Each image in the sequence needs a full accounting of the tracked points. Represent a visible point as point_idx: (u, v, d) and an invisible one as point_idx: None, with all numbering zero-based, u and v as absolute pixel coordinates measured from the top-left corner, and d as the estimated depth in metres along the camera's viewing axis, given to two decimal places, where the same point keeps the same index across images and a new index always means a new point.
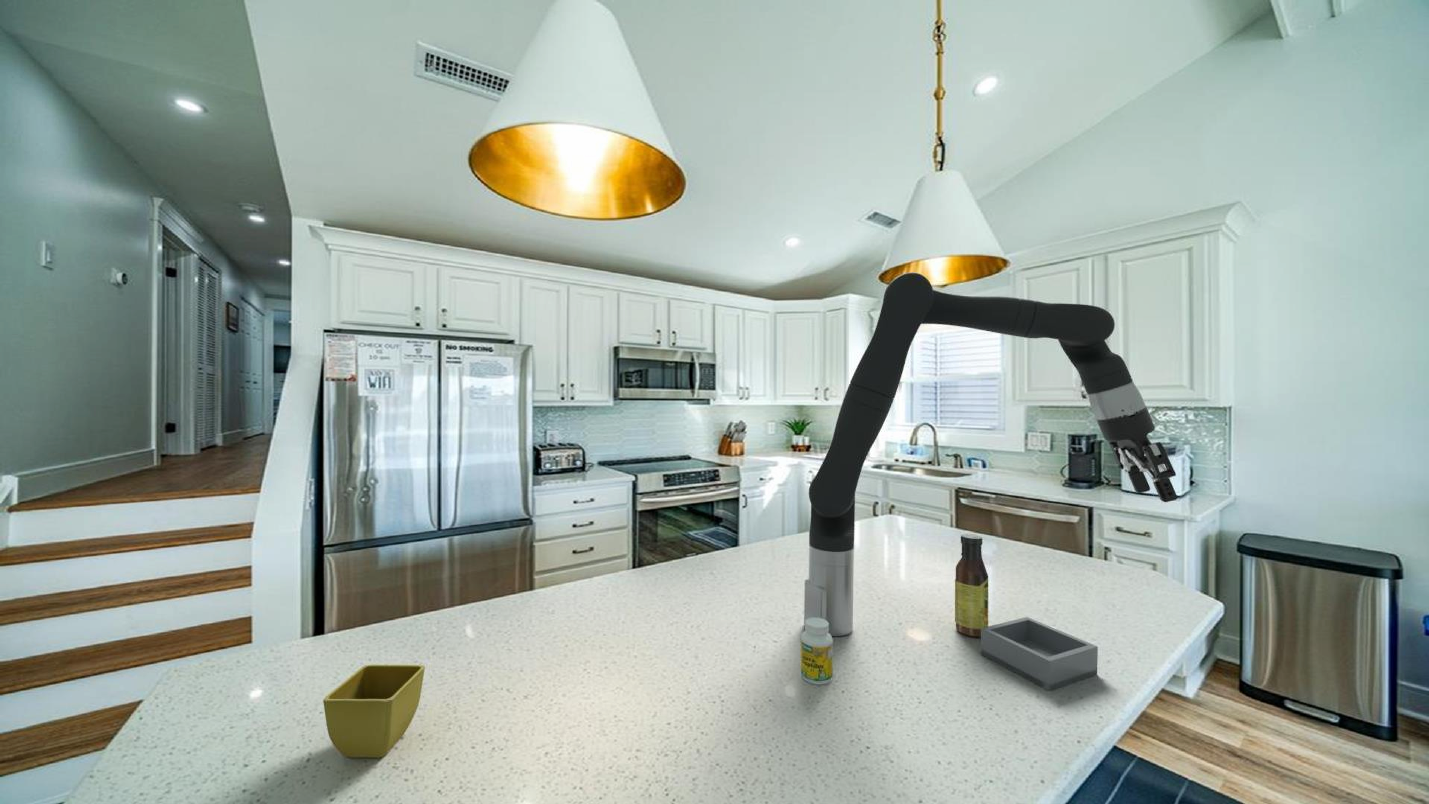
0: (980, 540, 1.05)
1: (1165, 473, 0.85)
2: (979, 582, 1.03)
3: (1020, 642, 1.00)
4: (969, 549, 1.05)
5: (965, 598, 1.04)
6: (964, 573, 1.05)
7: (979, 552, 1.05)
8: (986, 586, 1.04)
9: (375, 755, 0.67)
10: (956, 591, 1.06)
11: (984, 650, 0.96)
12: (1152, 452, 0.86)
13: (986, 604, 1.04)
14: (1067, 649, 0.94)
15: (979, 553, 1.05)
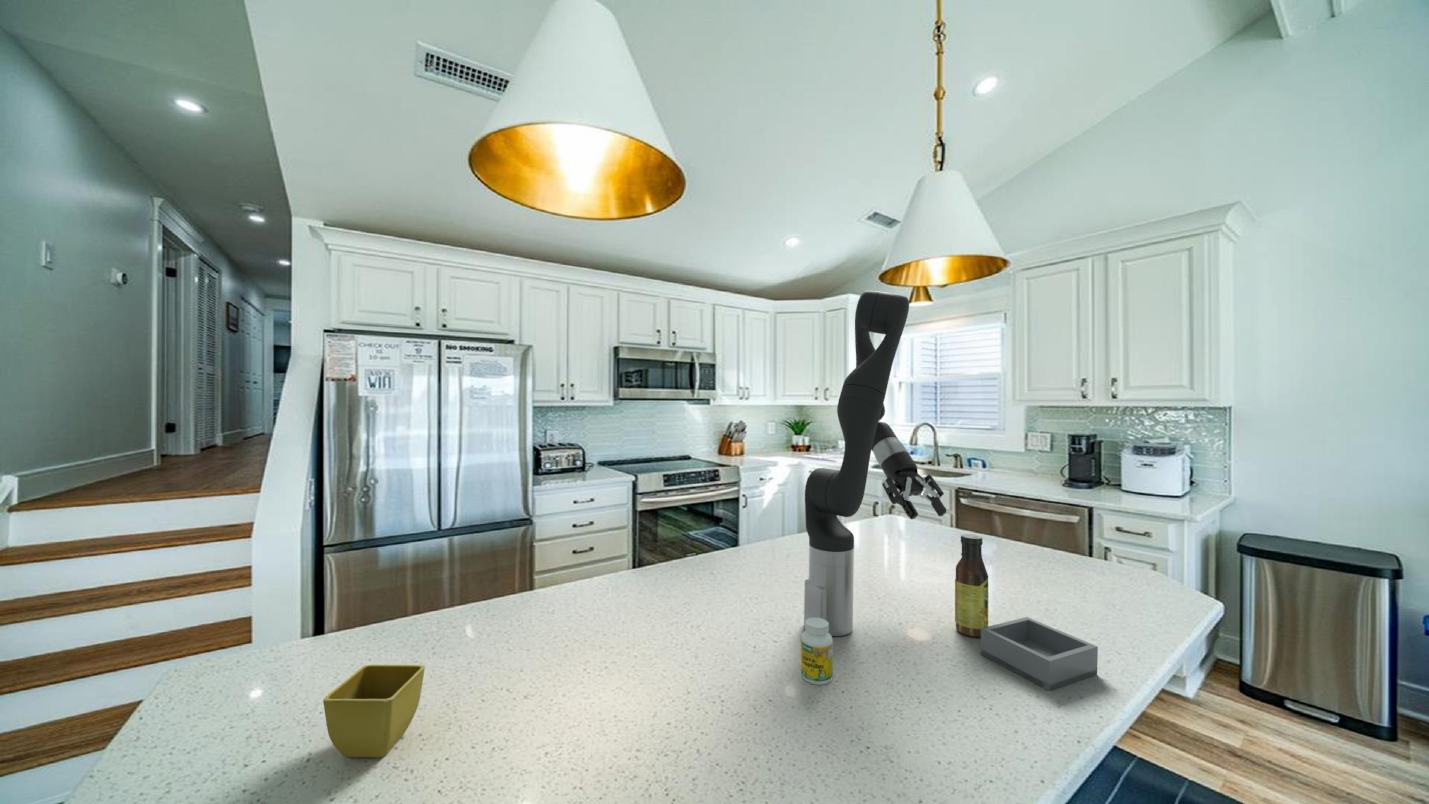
0: (980, 540, 1.05)
1: None
2: (979, 582, 1.03)
3: (1020, 642, 1.00)
4: (969, 549, 1.05)
5: (965, 598, 1.04)
6: (964, 573, 1.05)
7: (979, 552, 1.05)
8: (986, 586, 1.04)
9: (375, 755, 0.67)
10: (956, 591, 1.06)
11: (984, 650, 0.96)
12: None
13: (986, 604, 1.04)
14: (1067, 649, 0.94)
15: (979, 553, 1.05)
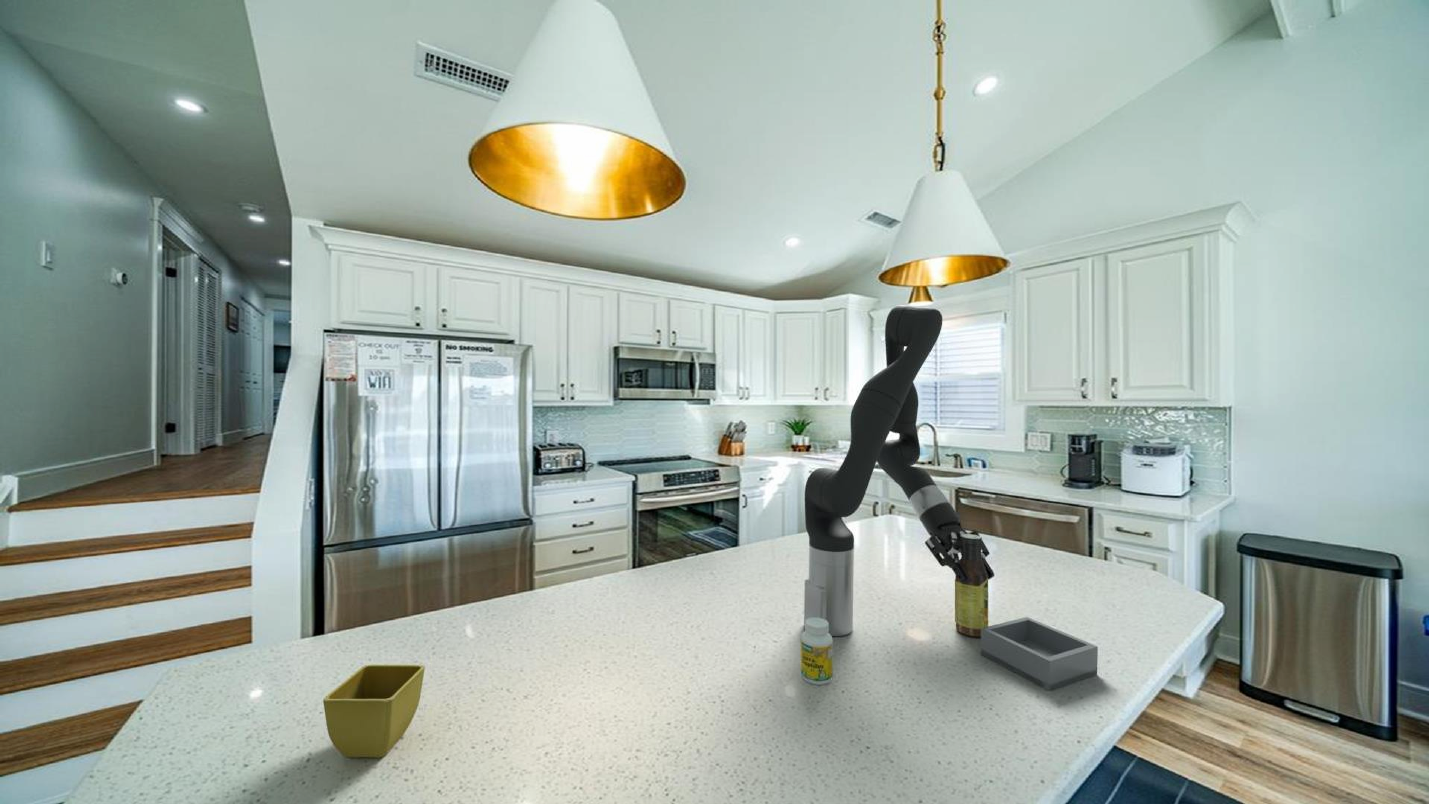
0: (980, 540, 1.05)
1: None
2: (979, 582, 1.03)
3: (1020, 642, 1.00)
4: (968, 549, 1.05)
5: (964, 598, 1.04)
6: None
7: (979, 552, 1.05)
8: (986, 586, 1.04)
9: (375, 755, 0.67)
10: (956, 591, 1.06)
11: (984, 650, 0.96)
12: None
13: (986, 604, 1.04)
14: (1067, 649, 0.94)
15: (979, 553, 1.05)
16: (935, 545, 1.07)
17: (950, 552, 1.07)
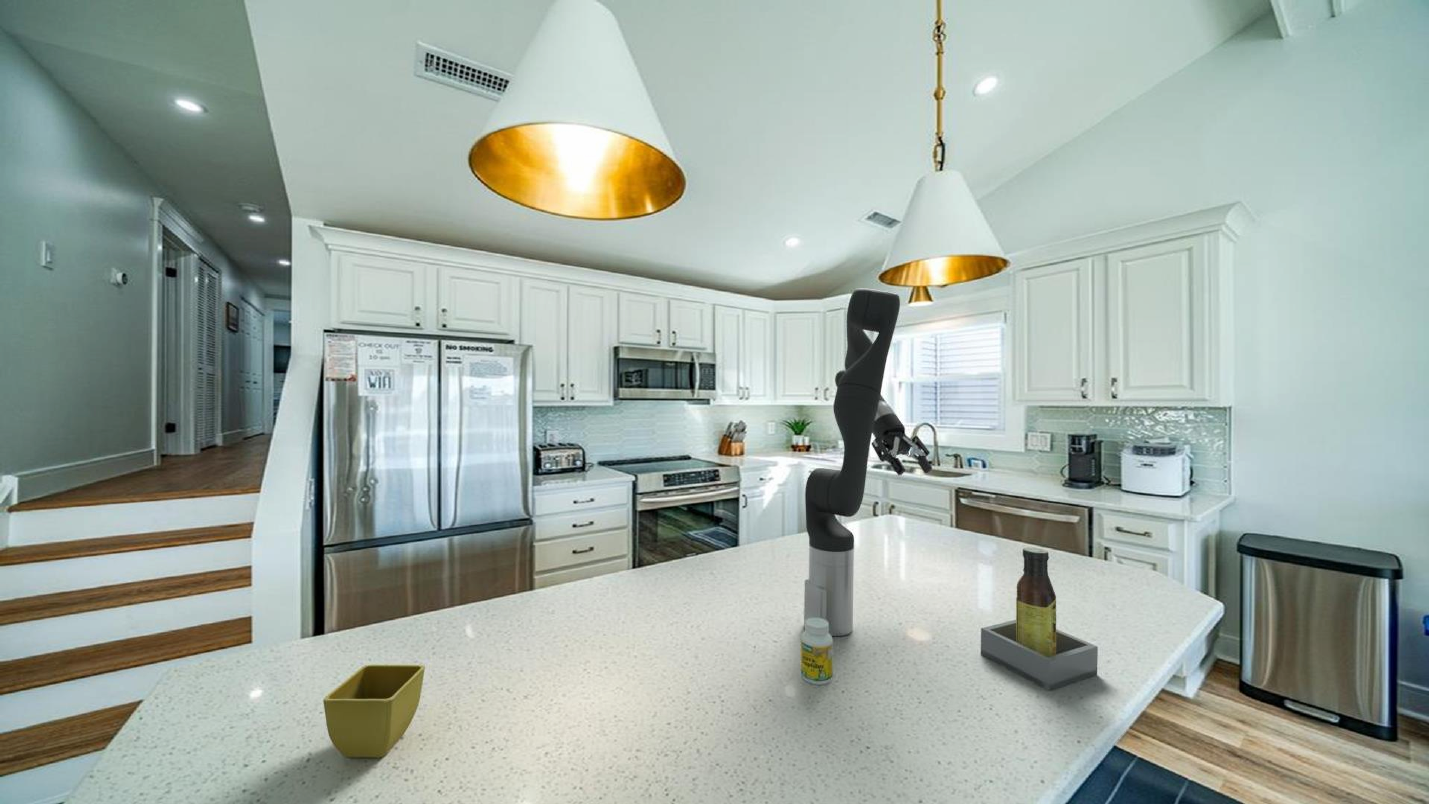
0: (1046, 555, 0.92)
1: None
2: (1046, 602, 0.91)
3: None
4: (1033, 565, 0.92)
5: (1029, 620, 0.92)
6: (1029, 592, 0.92)
7: (1045, 568, 0.92)
8: (1054, 607, 0.91)
9: (375, 755, 0.67)
10: (1018, 612, 0.94)
11: (984, 650, 0.96)
12: None
13: (1054, 628, 0.91)
14: (1067, 649, 0.94)
15: (1045, 569, 0.92)
16: (878, 443, 1.25)
17: (890, 450, 1.25)
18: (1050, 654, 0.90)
